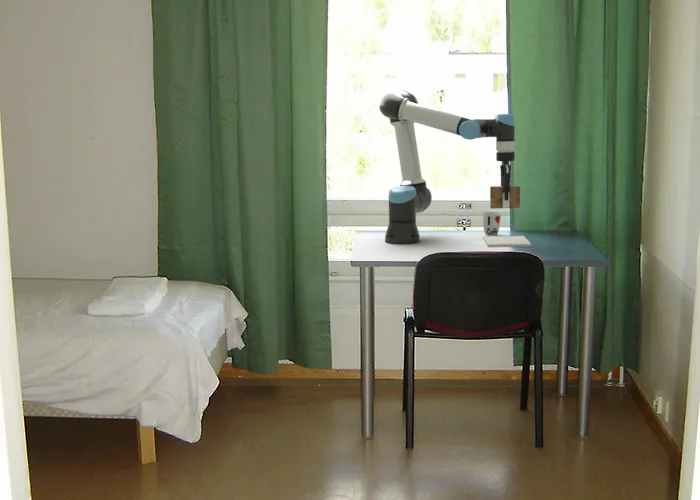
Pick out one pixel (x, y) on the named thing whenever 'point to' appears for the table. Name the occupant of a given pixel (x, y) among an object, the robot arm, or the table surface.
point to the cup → (491, 223)
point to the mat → (505, 241)
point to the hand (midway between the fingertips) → (505, 207)
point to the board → (497, 197)
